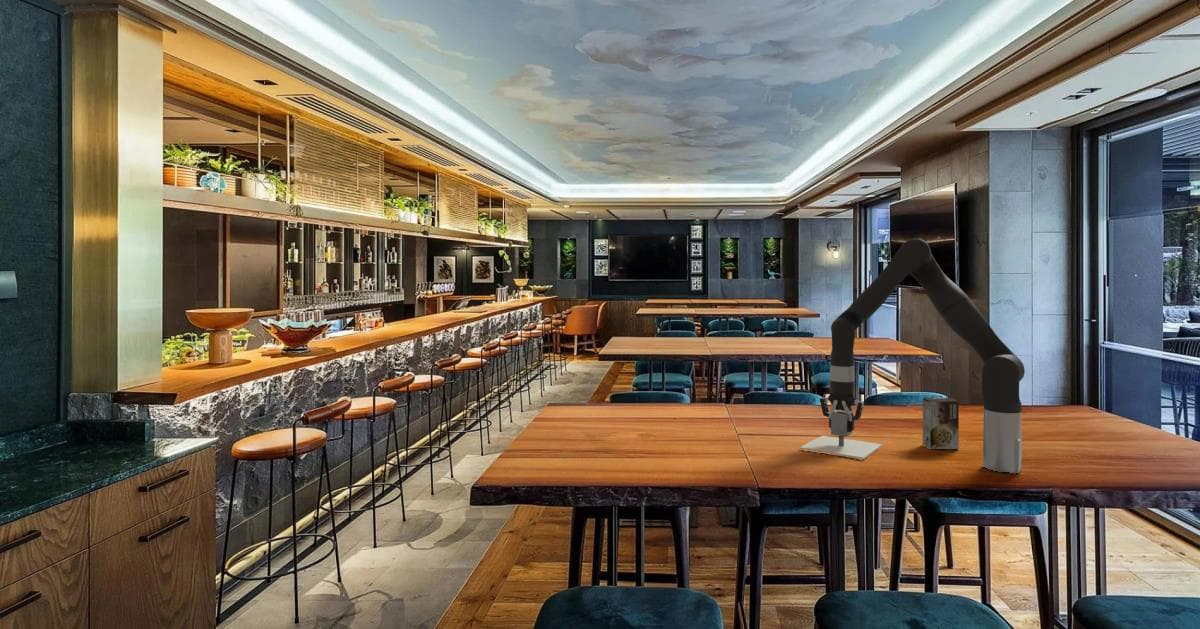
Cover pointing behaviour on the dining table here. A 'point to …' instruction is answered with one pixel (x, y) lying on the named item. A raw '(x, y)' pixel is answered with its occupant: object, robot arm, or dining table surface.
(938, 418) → the coffee box
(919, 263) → the robot arm
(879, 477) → the dining table surface
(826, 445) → the pin plate
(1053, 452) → the dining table surface
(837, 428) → the block
